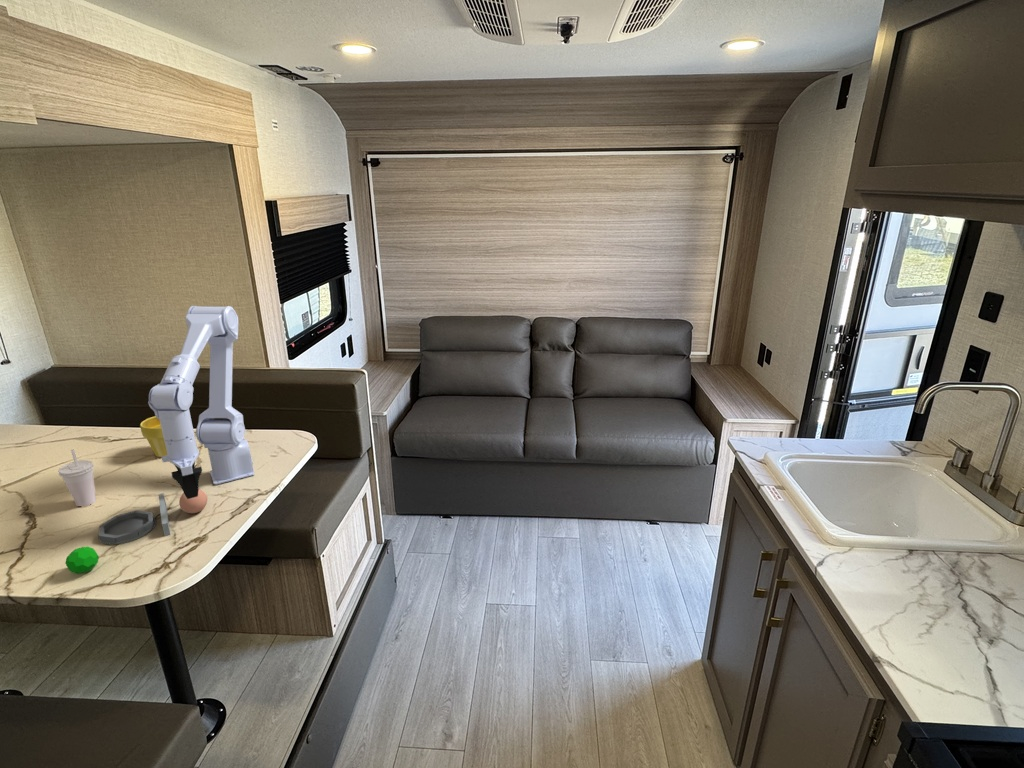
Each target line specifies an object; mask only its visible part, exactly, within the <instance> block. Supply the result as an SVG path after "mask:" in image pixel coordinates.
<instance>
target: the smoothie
mask: <svg viewBox="0 0 1024 768" xmlns="http://www.w3.org/2000/svg"><path fill="white" fill-rule="evenodd" d="M70 452H71V455H72V458H73V462H69V463H67V464H66V463H65V464H64V465H62V466H60V468H59V469H58V470H57V471H58V475H59V476H60V477H62V479H63V481H64V484H65V485H66V487H67V489H68V491H69V493H70V496H71V497H72V499H73V501H74V503H75V505H76V507H78V506H85V507H88V506H91V505H93V504H94V503H96V502H97V497H96V496H97V495H96V487H95V479H94V471H93V470H94V466H95V465H94V463H93V461H91V460H87V459H83V460H78V459H77V454H76V451H75V449H71V450H70ZM95 501H96V502H95ZM90 504H91V505H90ZM87 505H88V506H87Z"/></svg>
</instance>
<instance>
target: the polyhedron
mask: <svg viewBox="0 0 1024 768" xmlns="http://www.w3.org/2000/svg"><path fill="white" fill-rule="evenodd" d="M99 559H100V556H99V555H98V553H97V551H96V550H95V549H94V548H93V547H90V546H81V547H77V548H75V549H74V550H73V551H72V552H70V553H69V554H68V556H66V559H65V563H64V564H65V565H66V566H65V567H67V568H68V570H69V571H70V573H72V574H76V575H79V574H84V573H88V572H90V571H91V570H92V569H94V568H95V567H96V566H97V564H98V563H99Z"/></svg>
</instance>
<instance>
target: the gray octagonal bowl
mask: <svg viewBox="0 0 1024 768" xmlns="http://www.w3.org/2000/svg"><path fill="white" fill-rule="evenodd" d="M156 525H157V520H156V518H155V516H154V514H153V512H151V511H146V510H140V509H139V510H137V509H136V510H132V511H128V512H125V513H121V514H118V515H117V514H116V515H115V516H114V515H113V517H112V518H110V519H108V520H107V521H105V522H104V523H102V524H101V525H99V527H98V528H99V529H98V540H99V542H100V543H102V544H104V545H108V546H109V545H111V546H112V545H113V546H114V545H121V544H126V543H130V542H132V541H136V540H138V539H140V538H143V537H144V536H146V535H147V534H149V533H150V532H151V531H152V530H153V529H154V528H155V526H156Z"/></svg>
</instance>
